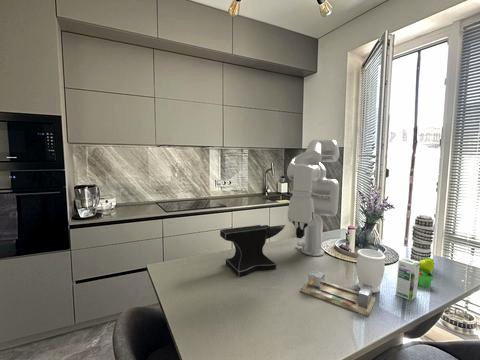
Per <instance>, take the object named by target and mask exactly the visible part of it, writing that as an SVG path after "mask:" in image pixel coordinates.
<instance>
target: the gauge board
mask: <svg viewBox="0 0 480 360" xmlns="http://www.w3.org/2000/svg"><path fill="white" fill-rule="evenodd" d="M324 282H325V283H328V284H331V285H334V286H337V287H340V288H343V289H346V290H349V291H352V292H355V293H358V294H359V292H360V291H356V290H353V289H350V288H346V287H344V286H341V285H337V284H335V283H332V282H328V281H325V280H324ZM307 285H308V281H307V282H306V283H304V285H302V286H301V287H300V292H302V293H305V294H308V295H310V296H312V297H316V298H318V299H322V300H324V301H327V302H328V303H332V304H334V303H335V305H338V306H339V307H342V308H345V309H349V310H351V311H354V312H356V313H358V314H359V313H360V314H362V315H365V316H366V317H369V316H370V314H371V312H372V309H373V307H374V304H375V302H376V297H375V296H372V299H371V301H370V304H369V306H368V308H367V309H365V308H363V307H360V306H358V299H359V296H357V295H354V294H351V293H348V292H345V291H342V290H339V289H336V288H333V287H330V286H327V285H324V286H323V287H322V288H321V289H322V290H324V291H327V292H330V293H333V294H336V295H339V296H342V297H344V298H347V299H350V300H353V301H356V304H354V303H353V302H350V301H348V300H345V299H342V298H339V297H336V296H334V295H331V294H328V293H325V292H322V291H319V290H317V289H314V288H313V289H312V288H309V287H307Z"/></svg>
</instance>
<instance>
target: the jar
mask: <svg viewBox="0 0 480 360" xmlns="http://www.w3.org/2000/svg"><path fill="white" fill-rule="evenodd" d="M357 255H358V256H357V258H356V276H357V279H358V282H357V286H358V288H360V289H361V288H362V286H363V285H364V284H366V285H369V286H373V287H372V294H373V293H378V292H380V290H381V288H380V286H381V284H382V282H383V278H384V274H385V270H386V267H385V260H386V254H384V253H383V252H381V251H378V250H375V249H371V248H359V249H358V250H357Z"/></svg>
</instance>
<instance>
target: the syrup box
mask: <svg viewBox="0 0 480 360" xmlns="http://www.w3.org/2000/svg"><path fill="white" fill-rule="evenodd" d="M419 267H420V262H417V261H414V260H411V259H410V258H407V257H402V258H400V259H399V260H398V264H397V278H396V288H395V295H396V296H398V297H401V298H404V299H406V300H408V301H410V302H412V301H413V300H414V299H415V298H416V297H417V296H418V295H417V293H418V286H419V285H418V276H419Z"/></svg>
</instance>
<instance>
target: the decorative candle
mask: <svg viewBox="0 0 480 360" xmlns="http://www.w3.org/2000/svg"><path fill="white" fill-rule="evenodd" d="M434 221H435V220H434V219H433V218H432V217H431V216H429V215H425V214H424V215H422V214H418V215H417V216H415V217H414V225H412V227H411V228H412V230H411V231H412V234H411V235H412V238H411V239H412V244H411V245H412V247H411V248H410V249H411V251H410V253H411V254H409V255H410V258H409V259H411V260H414V261H417V262H419V261H421V260H425V259H426V258H431V256H432V252H431V250H432V249H431V245H432V244H433V241H434V240H433V239H434V235H435V233H434V232H435V230H434Z"/></svg>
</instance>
